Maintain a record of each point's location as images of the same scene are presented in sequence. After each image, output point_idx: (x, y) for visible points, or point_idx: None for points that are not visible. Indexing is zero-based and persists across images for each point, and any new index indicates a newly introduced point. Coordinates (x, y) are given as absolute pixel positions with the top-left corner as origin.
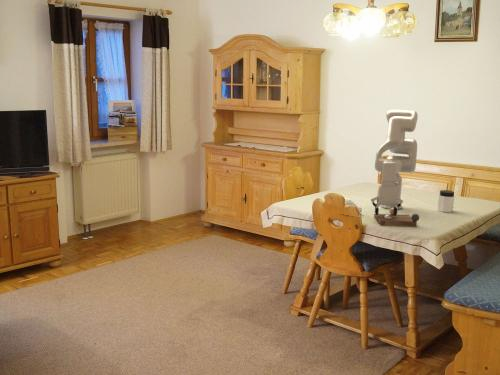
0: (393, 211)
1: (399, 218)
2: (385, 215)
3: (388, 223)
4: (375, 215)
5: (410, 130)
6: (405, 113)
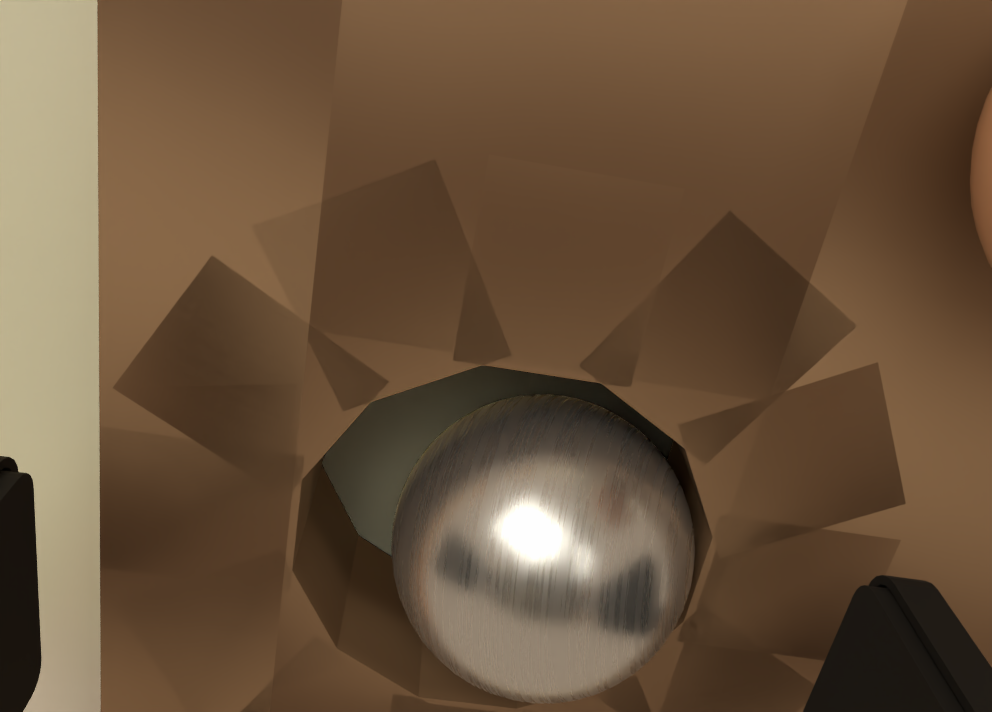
0: (929, 688)
1: None
2: (608, 227)
3: None
4: (109, 75)
5: None
6: None
